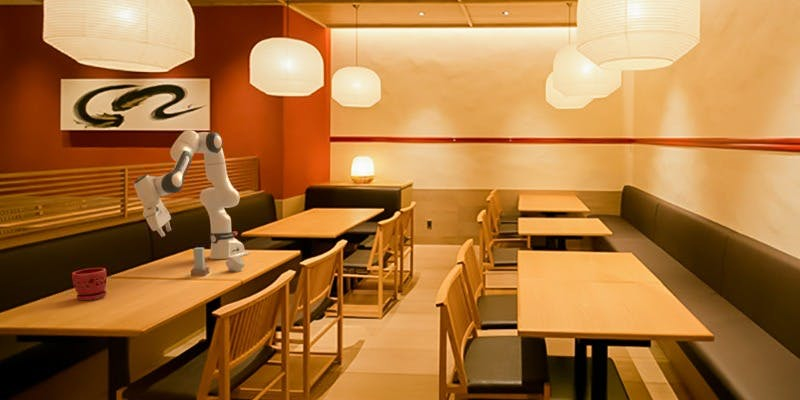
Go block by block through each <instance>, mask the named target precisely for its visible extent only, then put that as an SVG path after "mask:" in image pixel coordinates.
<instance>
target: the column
mask: <svg viewBox="0 0 800 400" xmlns="http://www.w3.org/2000/svg"><path fill="white" fill-rule="evenodd" d="M193 263H194V268H195V270H198V269H204V268H205V267H206V256H205V247H194V248H193Z"/></svg>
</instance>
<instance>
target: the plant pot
mask: <svg viewBox="0 0 800 400" xmlns="http://www.w3.org/2000/svg"><path fill="white" fill-rule="evenodd" d="M71 278H72V279H71V280H72V284H73V287H74V290H75V291H76V293H77V295H76V299H78V300H79V301H87V300H90V301H93V300H94V301H95V300H100V299H102V298H105V297H106V295H107V294H108V292H107V290H106V287H107V279H108V278H107V269H106V268H105V267H92V268H84V269H79V270H76V271H73V272H72V273H71ZM92 280H93V281H92Z"/></svg>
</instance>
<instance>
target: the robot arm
mask: <svg viewBox="0 0 800 400" xmlns="http://www.w3.org/2000/svg"><path fill="white" fill-rule="evenodd" d="M222 146H223V138H222V137H221V135H220V134H219V133H217V132H213V131H211V132H207V131H202V132H201V131H200V132H196V131H194V130H192V129H187V130H184V131H183V132H182V133H181V134H180V135H179V136H178V138H177V139H176V140H175V141H174V143H173V144H172V146H171V149H170V151H169V154H170V158H171V159H172V160H173V161H175V165H174V167H173V169H172V170H171V171H170V172H168V173H165V174H163V175H158V176H152V175H148V174H143V175H141V176H139V177H137V178H136V179H135V180H134V182H133V186H134V189H135V192H136V194H137V196H138V198H139V200H140V201H141V204H142V207H143V213H142V216H143V217H144V218H145V220H146V222H147V224H148V226H149V227H150V229H151V230H152V231H153V232H155V231H157V232H158V234H159V235H160V237H161V238H163V237H165V236H166V233H165V232H164V231H163V228H162V227H164V226H165V230H166V232H171V231H172V228H171V224H170V220H171V219H172V217H171V214H170V213H169V210H168V209H167V207H166V206H165V205H164V203H163V201H162V199H161V197H163V196H167V195H170V194H177V193H179V192H180V191H181V190H183V185H184V181H185V177H186V174H187V173H188V170H189V168H190V166H191V163H192V161H193V157H194V155H195V154H203V160H204V170H205V175H206V177H205V178H206V179H207V181H209V182H210V183H211V184H212V187H207V188H204V189H203V190H201V191H200V193H199V200H200V203H201V204H202V205H203V207H204V208H205V209H206V211H207V214H208V216H209V220H210V221H209V223H210V235H209V236H210V242H211V243H210V252H209V257H208V259H211V260H226V259H227V260H228V259H229V258H230V257H231V256H241V257H244V256H248V255H250V253H249V252H248V251H245V246H244V244H243V242H241V241H239V239H236V238H235V236H237V235H238V231H232V219H231V216H230V215H229V214H228V213H227V211H226V210H225V208H226V209H227V208H228V209H229V208H233V207H236V206H238V204H239V202H240V197H241V196H240V192H238V190H237V189H235V187H234V186H233V185H232V183H231V181H230V178H229V176H228V173H227V171H228V170H227V164H226V158H225V154H224V150H223V147H222Z"/></svg>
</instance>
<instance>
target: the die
mask: <svg viewBox="0 0 800 400" xmlns="http://www.w3.org/2000/svg"><path fill="white" fill-rule="evenodd" d="M225 266H226V267H227V269H228V272H234V273H235V272H236V273H239V272H240V271H241V270H242V269H243V268H244V267H245V266H246V265H245V263H244V260H243V257H242V256H231V257H230V258H229V259H227V261H225Z"/></svg>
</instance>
